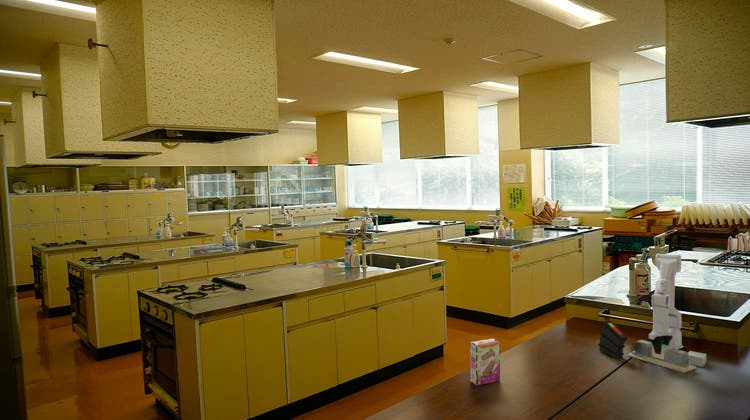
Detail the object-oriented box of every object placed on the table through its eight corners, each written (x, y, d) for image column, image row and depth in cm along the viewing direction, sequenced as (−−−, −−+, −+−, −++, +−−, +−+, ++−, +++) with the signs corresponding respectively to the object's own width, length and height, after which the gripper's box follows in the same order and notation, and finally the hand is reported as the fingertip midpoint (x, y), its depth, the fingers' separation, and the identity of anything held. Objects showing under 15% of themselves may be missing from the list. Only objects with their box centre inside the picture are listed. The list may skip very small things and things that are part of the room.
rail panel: (639, 351, 221) (639, 337, 220) (696, 368, 200) (696, 352, 200) (627, 355, 216) (627, 340, 216) (684, 373, 195) (684, 356, 195)
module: (657, 354, 211) (657, 342, 211) (669, 357, 207) (669, 345, 207) (652, 356, 209) (652, 344, 209) (664, 359, 205) (664, 347, 205)
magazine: (599, 344, 227) (610, 319, 220) (619, 365, 216) (631, 339, 209) (593, 345, 226) (603, 320, 219) (613, 366, 215) (625, 340, 208)
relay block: (689, 359, 210) (689, 350, 210) (706, 363, 205) (706, 354, 205) (686, 363, 206) (686, 354, 205) (702, 367, 201) (702, 357, 201)
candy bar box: (477, 386, 188) (476, 345, 188) (470, 381, 193) (469, 341, 192) (501, 381, 192) (500, 341, 192) (493, 377, 197) (493, 337, 196)
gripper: (660, 326, 200) (660, 358, 201) (679, 320, 207) (679, 351, 208) (643, 322, 206) (643, 353, 207) (663, 317, 213) (663, 347, 214)
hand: (660, 352), depth 208 cm, fingers closed on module, 4 cm apart
